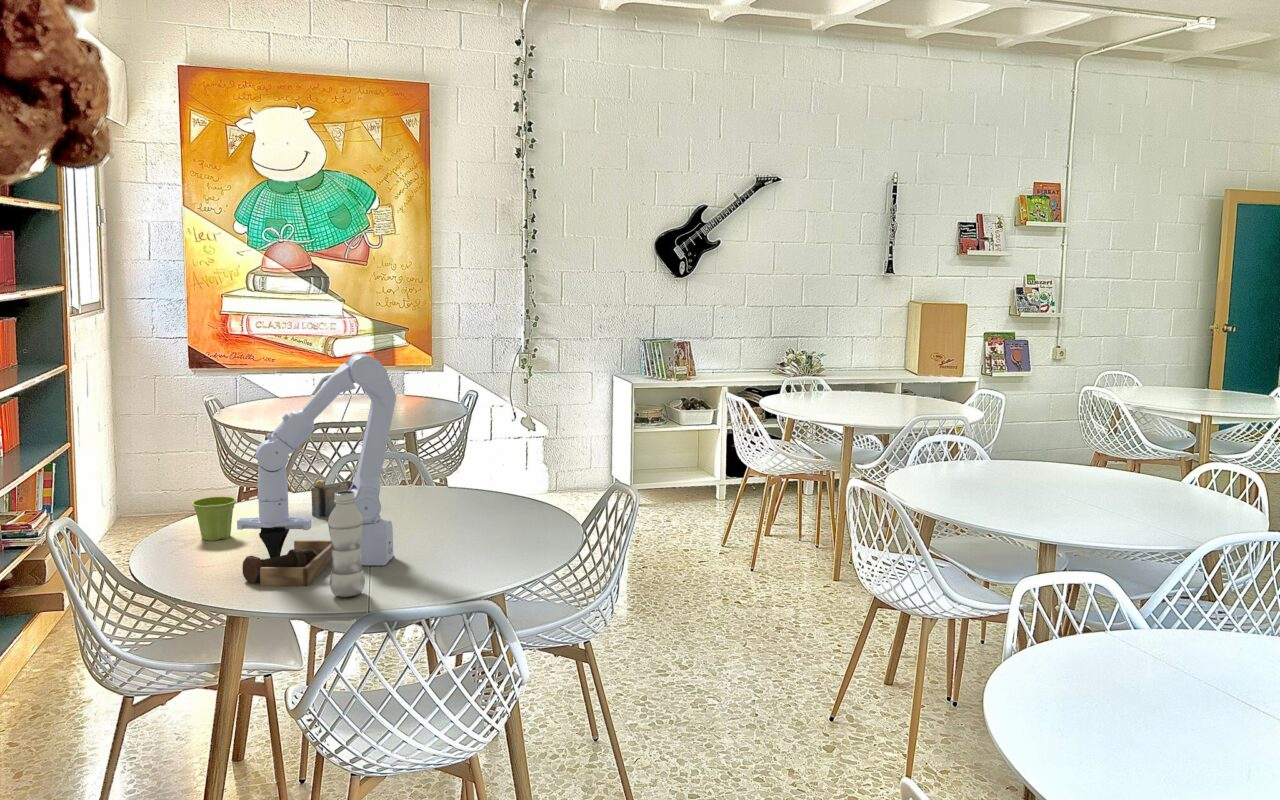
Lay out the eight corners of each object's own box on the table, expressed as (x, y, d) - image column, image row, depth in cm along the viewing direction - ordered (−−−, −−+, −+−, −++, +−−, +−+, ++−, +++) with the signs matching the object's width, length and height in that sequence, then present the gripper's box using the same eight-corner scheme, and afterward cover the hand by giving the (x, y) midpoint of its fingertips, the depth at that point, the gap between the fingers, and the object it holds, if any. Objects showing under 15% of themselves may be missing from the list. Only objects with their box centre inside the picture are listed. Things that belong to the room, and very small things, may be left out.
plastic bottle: (369, 590, 194) (367, 489, 192) (358, 601, 188) (355, 496, 185) (337, 589, 195) (333, 488, 192) (324, 600, 188) (321, 496, 185)
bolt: (317, 574, 210) (251, 590, 198) (304, 559, 212) (239, 573, 200) (325, 553, 207) (259, 567, 196) (312, 538, 210) (246, 551, 198)
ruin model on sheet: (319, 519, 251) (318, 481, 250) (312, 517, 253) (310, 479, 252) (357, 511, 260) (356, 474, 259) (349, 509, 262) (348, 472, 260)
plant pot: (228, 543, 227) (226, 505, 226) (186, 543, 227) (184, 505, 226) (244, 532, 236) (242, 496, 235) (204, 532, 236) (202, 496, 235)
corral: (338, 556, 217) (337, 540, 217) (307, 585, 197) (306, 568, 196) (295, 556, 217) (295, 540, 217) (260, 585, 197) (259, 568, 196)
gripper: (229, 502, 201) (232, 568, 203) (302, 503, 201) (304, 569, 203) (243, 494, 208) (246, 558, 210) (313, 495, 208) (315, 559, 210)
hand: (275, 563), depth 207 cm, fingers closed
